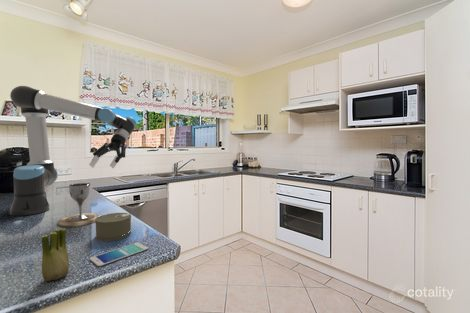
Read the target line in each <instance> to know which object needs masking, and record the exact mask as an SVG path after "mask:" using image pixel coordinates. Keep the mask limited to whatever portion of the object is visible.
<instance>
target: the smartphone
mask: <svg viewBox="0 0 470 313" xmlns="http://www.w3.org/2000/svg"><path fill="white" fill-rule="evenodd" d="M148 250H149V247H147V246H146V245H144V244H141V243H140V242H134V243H131V244H129V245H126V246H121V247H119V248H116V249H113V250H110V251H107V252H103V253H100V254H97V255H94V256H91V257H90V258H89V262H91V263H92V264H94V265H95V266H96V267H97V268H101V267H104V266H108V265H110V264H113V263H116V262H119V261H121V260H123V259H127V258H129V257H131V256H135V255H137V254H141V253H143V252H146V251H148Z"/></svg>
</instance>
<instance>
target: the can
mask: <svg viewBox="0 0 470 313" xmlns="http://www.w3.org/2000/svg"><path fill="white" fill-rule="evenodd" d="M131 220H132V214H131V213H128V212H115V213H113V212H112V213H107V214H103V215H101V216H100V217H97V218H96V219H95V222H94V223H95V239H96V240H97V241H101V242H113V241H118V240H122V239H125V238H127V237H128V236H130V235H131V234H132V231H130V230H132V227H131V226H132V223H131V222H132V221H131ZM129 231H130V232H129ZM128 232H129V233H128ZM124 234H125V235H124ZM122 235H123V236H122Z"/></svg>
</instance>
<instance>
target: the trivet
mask: <svg viewBox="0 0 470 313" xmlns="http://www.w3.org/2000/svg"><path fill="white" fill-rule="evenodd" d="M79 214H80V213H78V214H72V215H68V216H65V217H61V218H60V219H58V221H57V226H59V227H62V228H67V227H68V228H70V227H74V228H75V227H82V226H86V225H91V224H94V223H96V222H95V219H96V218H97V217H98V216H99V215H98V214H99V213H94V212H91V213H87V212H86V213H85V212H84V213H82V215H89V216H90V217H89V218H86V219H81V220H72V219H71V218H73V217H75V216H78V215H79Z"/></svg>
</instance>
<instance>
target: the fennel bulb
mask: <svg viewBox="0 0 470 313" xmlns="http://www.w3.org/2000/svg"><path fill="white" fill-rule="evenodd" d="M66 237H67V229H66V228H60V229H59V228H58V229H55V230H54V231H52V232H50V236H49V235H47V234H44V235H42V236H41V245H42V255H41V256H42V257H41V274H42V278H43V280H44V281H45V282H51V281H57V280H60V279H62V278H64V277H65V276H67V275H68V273H69V263H70V262H69V261H70V260H69V252H68V248H67V243H66V242H67V238H66Z"/></svg>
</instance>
